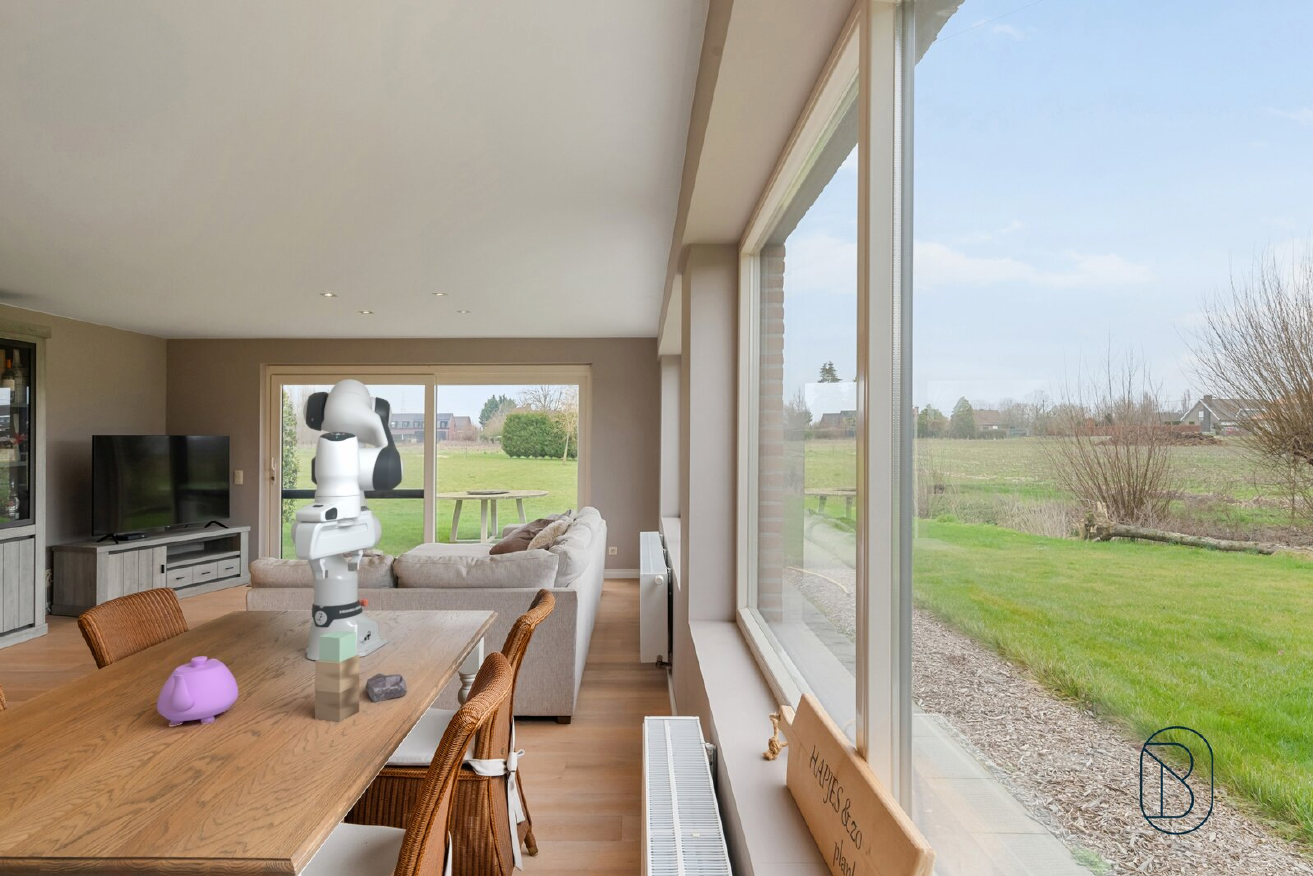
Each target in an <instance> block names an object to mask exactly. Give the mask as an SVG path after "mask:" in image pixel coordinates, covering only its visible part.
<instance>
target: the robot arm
mask: <svg viewBox="0 0 1313 876" xmlns="http://www.w3.org/2000/svg"><path fill="white" fill-rule="evenodd" d="M302 414H303V419H304V421H305V425H307V427H308V428H309V429H311V430H313V431H318V432H321V431H324V432H325V433H323V434H321V435H320V436H318V439H317V444H316V450H315V456H314V457H313V458H312V459H311V461H310V463H311V478H310V479H311V482H312V483H313V484H315V485H316V489H315V492H314V501H312V502H310V503H309V504H307V505H306V506H303V507H302V508H300V509H297V511H296V512H295V519H294V521H293V523H292V524H291V529H290V536H291V537H290V538H291V540H292V542H293V544H294V551H295V552H294V553H295V555H296V557H297V559H298V560H301V561H302V560H304V561H307V562H308V563H309V567H310V569H311V572H312V580H313V603H312V604H311V618H312V621H311V624H310V628H309V629H310V630H309V636H308V637H309V639H308V646H307V647H306V648H305V653H306V658H307V659H309V660H310V661H311V660H312V661H317V660H319V636H322V635H325V634H328V633H331V632H333V631H349V632H356V655H360V656H359V658H360V657H365V656H368V655H369V654H371V653H373V652H374V651H376V650H378V649H379V648H380V647H383V646H384V645H386V644H387V643H389V639H388V638H386V637H383V636H380V629H379V624H378V623H377V621H376V620H375V619H373V618H371V617H369V616H368V615H367V614H366V613H364V612H363V608H362V607H368V606H369V600H368V598H367V599H366V598H365V599H363V598H361V599H359V573H358V571H360V563H361V559H362V557H363V555H364V551H369V550H372V549H374V548H375V547H376V546H377V545H378V544H379V543H380V540H381V538H382V534H383V527H382V524H381V521H380V519H379V518H378V517H377V516H376V515H375V514H374V513H373V512H372V511H371V509H370V507H369V506H368V503H367V500H366V496H365V491H367V492H368V491H375V492H387V493H388V492H389V493H390V492H391V491H393V490H394V489H395V488H397V487H398V486H399V485H400V484H401V483H402V481H403V477H404V461H403V459H402V457H401V455H400V452H399V451H398V449H397V447H396V443H395V440H394V438H393V435H392V432H391V429H390V426H391V424H392V421H393V411H392V407H391V404H390V402H389V401H388V400H387V399H384V398H382V397H378V396H376V397H373V396H371V394H370V390H368V387H367V386H366V385H365V384H364V383H362V382H361V381H359V380H357V379H349V378H347V379H343V380H340V381H338V382H336V384H335V385H334V386H333V387H332V388H331V390H330V392H326V391H318V392H314V393H311V394H310V395H309V396H308V398H307V399H306V401H305V403H304V404H303V410H302ZM367 444H368V445H371V446H373V447H367ZM346 553H350V554H351V558H350V561H349V562H347V560H346V558H345V556H344V554H346Z"/></svg>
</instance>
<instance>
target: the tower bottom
mask: <svg viewBox="0 0 1313 876" xmlns="http://www.w3.org/2000/svg"><path fill="white" fill-rule="evenodd" d="M358 713H360V683H359V684H357V685H355V686H353V687H351V688H349V689H347V690H345V691H343V692H340V693H335V692H326V691H316V690H315V689H314V720H315V719H319V720H318V721H322V720H325V721H324V722H331V721H332V722H333V723H342V722H343V721H345V720H347V719H348V718H351V717H353V716H354V715H356V714H358ZM352 715H353V716H352ZM344 719H345V720H344Z"/></svg>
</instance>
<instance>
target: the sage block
mask: <svg viewBox="0 0 1313 876" xmlns="http://www.w3.org/2000/svg"><path fill="white" fill-rule="evenodd" d="M354 656H356V632H349V631H333V632H331V633H328V634H325V635H322V636H319V661H328V662H342V661H344V660H347V659H349V658H351V657H354Z"/></svg>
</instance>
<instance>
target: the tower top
mask: <svg viewBox="0 0 1313 876" xmlns="http://www.w3.org/2000/svg"><path fill="white" fill-rule="evenodd" d="M359 656H360V655H356V656H354V657H351V658H349V659H347V660H344V661H342V662H328V661H319V660H314V661H315V662H314V674H315V675H314V691H315V690H316V691H326V692H335V693H340V692H343V691H345V690H347V689H349V688H351V687H353V686H355V685H357V684H359V685H360V657H359Z"/></svg>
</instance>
